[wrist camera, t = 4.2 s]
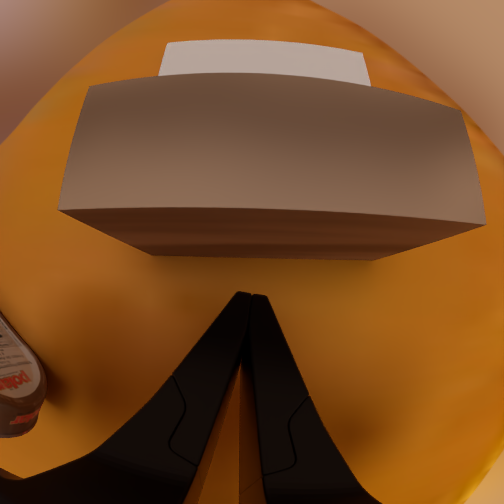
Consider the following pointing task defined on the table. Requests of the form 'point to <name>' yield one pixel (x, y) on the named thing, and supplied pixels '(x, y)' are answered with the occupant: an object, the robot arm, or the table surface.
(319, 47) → the mat
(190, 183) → the walnut board
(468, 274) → the table surface
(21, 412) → the tin
